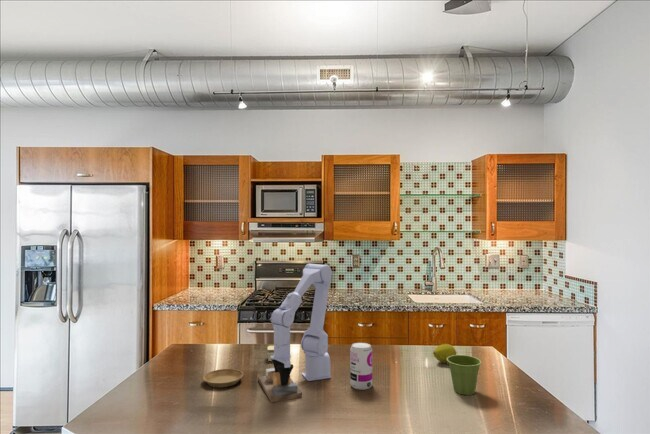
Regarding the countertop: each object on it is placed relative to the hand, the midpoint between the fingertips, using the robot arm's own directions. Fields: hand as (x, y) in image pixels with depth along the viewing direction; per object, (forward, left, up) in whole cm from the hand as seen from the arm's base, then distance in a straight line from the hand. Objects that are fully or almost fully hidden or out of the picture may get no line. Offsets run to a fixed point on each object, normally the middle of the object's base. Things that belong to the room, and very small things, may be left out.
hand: (281, 381), depth 144 cm
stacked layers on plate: (-6, -36, -4) cm, 37 cm away
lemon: (-74, -4, -4) cm, 74 cm away
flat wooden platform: (0, -4, -4) cm, 6 cm away
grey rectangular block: (0, -8, -2) cm, 9 cm away
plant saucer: (+18, -18, -4) cm, 26 cm away
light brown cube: (0, 0, -2) cm, 2 cm away
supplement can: (-29, +5, -4) cm, 30 cm away
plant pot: (-61, +23, -4) cm, 65 cm away
